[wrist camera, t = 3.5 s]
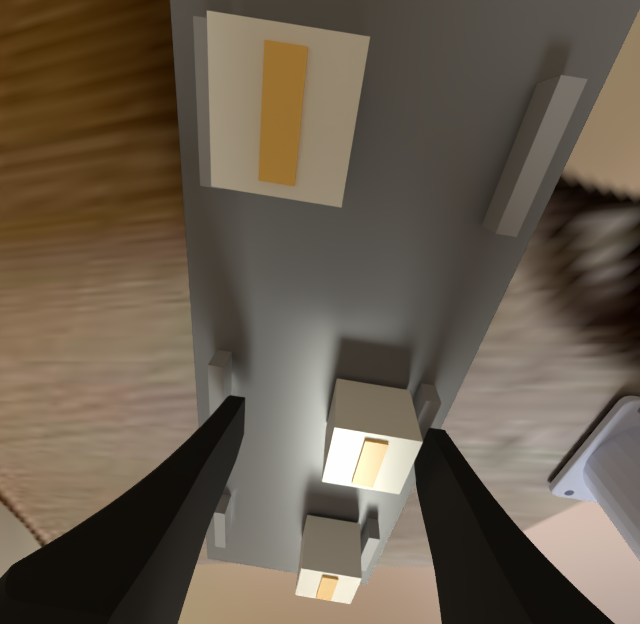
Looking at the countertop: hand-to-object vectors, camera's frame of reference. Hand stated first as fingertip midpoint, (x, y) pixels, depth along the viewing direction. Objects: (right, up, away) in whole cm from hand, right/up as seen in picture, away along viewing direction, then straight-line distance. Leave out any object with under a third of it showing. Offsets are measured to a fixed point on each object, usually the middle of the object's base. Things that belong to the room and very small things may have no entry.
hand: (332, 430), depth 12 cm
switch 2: (0, -8, +6) cm, 10 cm away
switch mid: (+1, 0, +1) cm, 2 cm away
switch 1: (-1, +10, -4) cm, 10 cm away
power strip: (0, +2, +4) cm, 5 cm away
